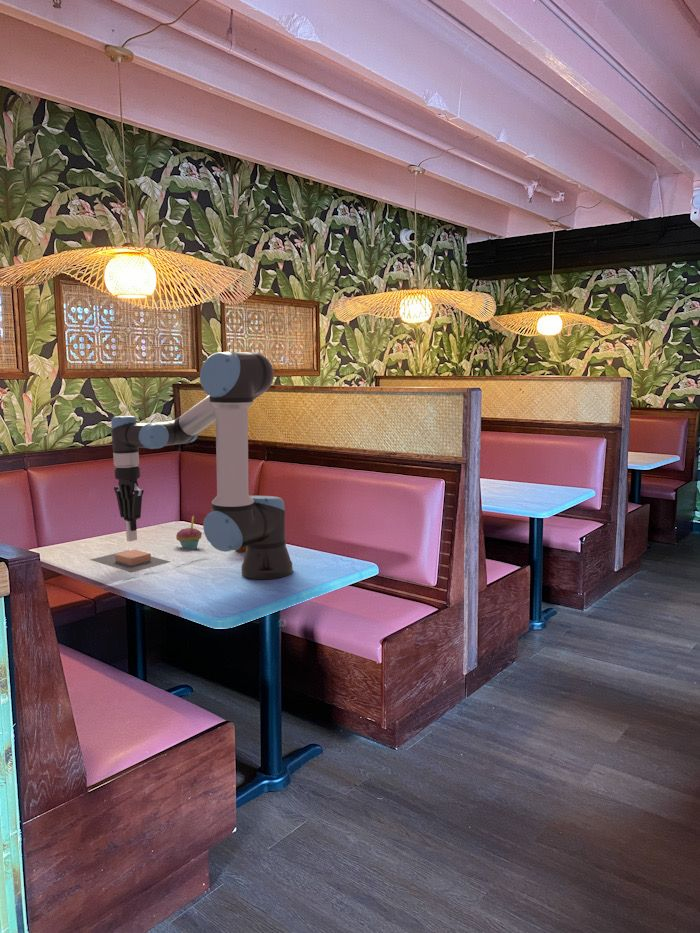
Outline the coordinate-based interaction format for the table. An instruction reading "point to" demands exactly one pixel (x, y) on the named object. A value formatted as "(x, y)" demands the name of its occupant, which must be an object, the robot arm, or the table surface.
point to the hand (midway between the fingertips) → (132, 540)
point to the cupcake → (189, 537)
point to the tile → (133, 557)
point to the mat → (111, 562)
